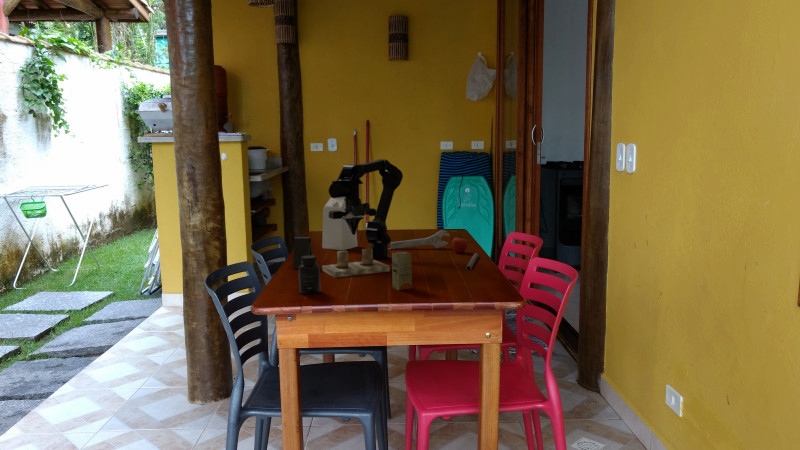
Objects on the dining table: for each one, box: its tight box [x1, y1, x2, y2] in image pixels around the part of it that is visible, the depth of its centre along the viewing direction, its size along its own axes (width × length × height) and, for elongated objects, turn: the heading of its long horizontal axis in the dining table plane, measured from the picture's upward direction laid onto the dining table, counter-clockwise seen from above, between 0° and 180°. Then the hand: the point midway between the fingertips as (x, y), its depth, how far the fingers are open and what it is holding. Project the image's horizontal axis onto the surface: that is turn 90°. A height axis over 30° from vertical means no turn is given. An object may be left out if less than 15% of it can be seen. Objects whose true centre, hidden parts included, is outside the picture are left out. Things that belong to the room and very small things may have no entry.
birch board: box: [321, 259, 390, 278], centre depth 238 cm, size 22×14×2 cm, turn 116°
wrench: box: [387, 230, 450, 250], centre depth 285 cm, size 8×2×30 cm
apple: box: [450, 229, 468, 254], centre depth 272 cm, size 8×7×10 cm
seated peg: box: [361, 247, 374, 266], centre depth 239 cm, size 4×4×8 cm
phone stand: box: [292, 236, 314, 270], centre depth 246 cm, size 9×6×12 cm, turn 174°
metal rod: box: [465, 252, 479, 271], centre depth 250 cm, size 2×27×2 cm, turn 167°
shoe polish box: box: [391, 250, 413, 291], centre depth 208 cm, size 5×5×12 cm
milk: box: [321, 196, 358, 251], centre depth 290 cm, size 12×12×26 cm
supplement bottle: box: [298, 255, 321, 296], centre depth 204 cm, size 7×7×12 cm
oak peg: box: [336, 250, 349, 269], centre depth 235 cm, size 4×4×8 cm
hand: (353, 234), depth 251 cm, fingers closed
